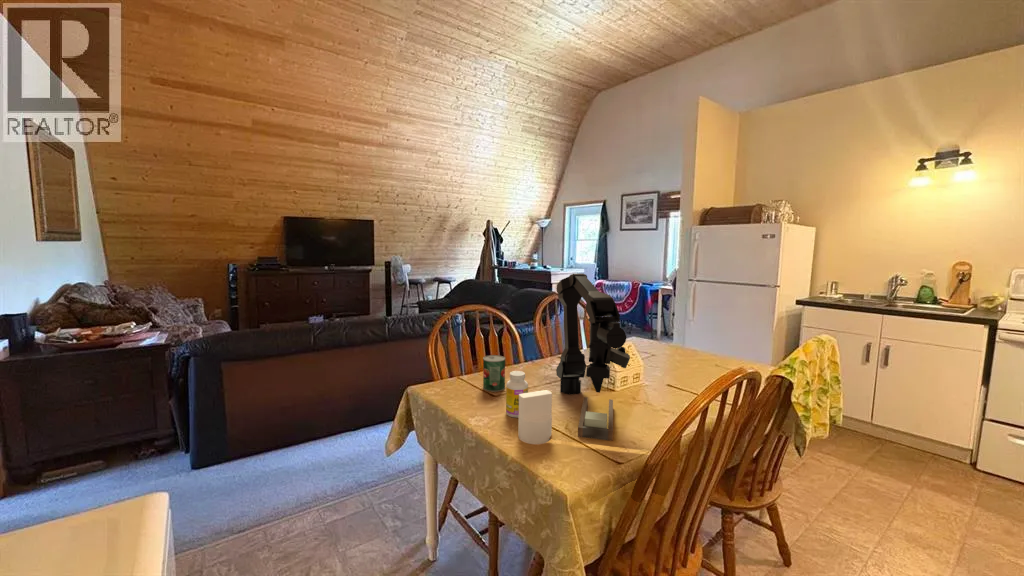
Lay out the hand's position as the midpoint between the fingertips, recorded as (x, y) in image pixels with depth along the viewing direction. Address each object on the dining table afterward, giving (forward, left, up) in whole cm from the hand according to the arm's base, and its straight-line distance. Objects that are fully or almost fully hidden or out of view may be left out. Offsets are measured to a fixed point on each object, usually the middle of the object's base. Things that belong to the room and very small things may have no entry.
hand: (598, 392), depth 122 cm
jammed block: (0, -9, -8) cm, 12 cm away
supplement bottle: (-24, -1, -9) cm, 26 cm away
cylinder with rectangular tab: (-16, -14, -9) cm, 23 cm away
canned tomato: (-37, +19, -9) cm, 43 cm away
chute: (0, -2, -9) cm, 9 cm away
